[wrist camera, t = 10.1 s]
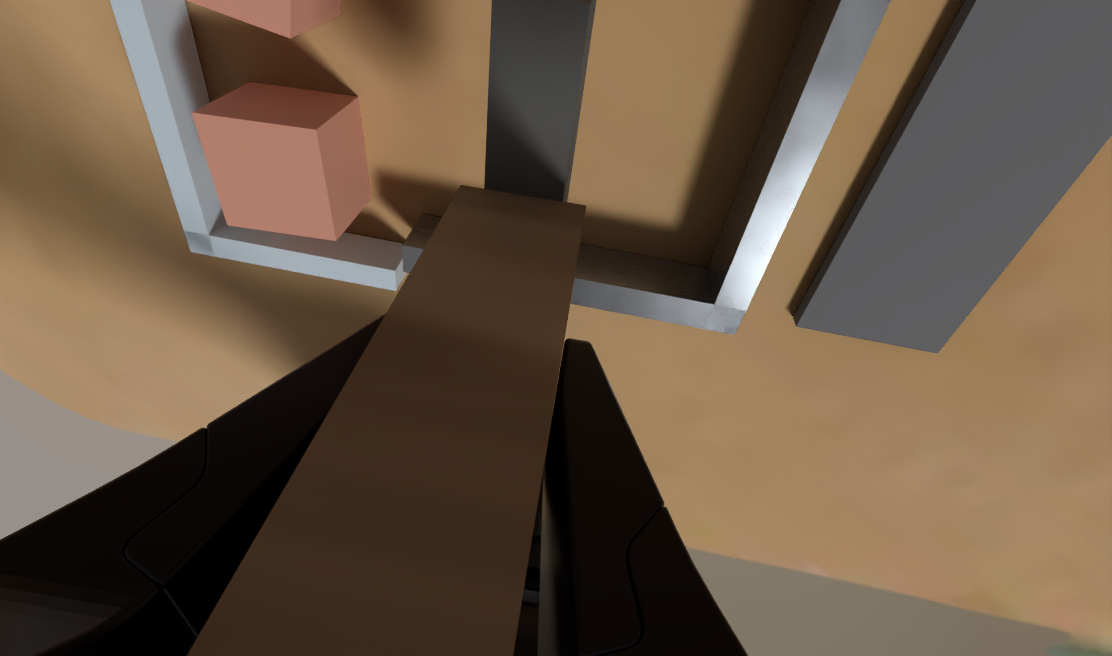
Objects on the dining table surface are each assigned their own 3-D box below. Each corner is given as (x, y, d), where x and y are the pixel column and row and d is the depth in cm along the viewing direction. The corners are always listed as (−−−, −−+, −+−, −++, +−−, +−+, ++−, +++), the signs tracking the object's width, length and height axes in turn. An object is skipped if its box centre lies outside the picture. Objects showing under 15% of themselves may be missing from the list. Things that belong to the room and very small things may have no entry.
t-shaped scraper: (562, 345, 16) (475, 868, 8) (480, 331, 16) (302, 837, 8) (622, -16, 10) (549, 466, 2) (495, -36, 10) (-142, 345, 2)
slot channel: (726, 297, 23) (734, 335, 21) (422, 239, 23) (403, 271, 21) (894, -92, 15) (931, -88, 13) (419, -184, 15) (386, -192, 13)
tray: (411, 264, 24) (396, 290, 23) (219, 228, 24) (190, 251, 23) (399, -262, 14) (369, -279, 13) (67, -326, 14) (-3, -351, 12)
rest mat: (931, 343, 24) (937, 353, 23) (793, 317, 24) (796, 326, 23) (1235, -47, 15) (1254, -45, 14) (1013, -90, 15) (1025, -89, 14)
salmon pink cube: (372, 197, 23) (336, 241, 20) (276, 183, 23) (227, 225, 20) (359, 95, 20) (316, 129, 17) (251, 80, 20) (191, 112, 17)
